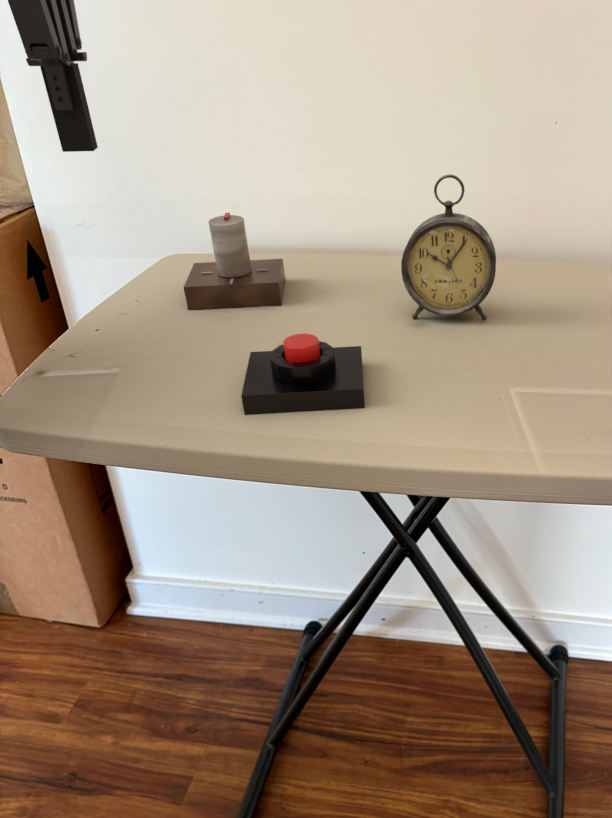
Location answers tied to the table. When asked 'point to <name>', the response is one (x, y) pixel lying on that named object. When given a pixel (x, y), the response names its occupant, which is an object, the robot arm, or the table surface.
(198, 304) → the panel
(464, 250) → the alarm clock
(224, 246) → the dimmer knob
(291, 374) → the switch block
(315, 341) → the light button
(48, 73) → the robot arm
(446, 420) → the table surface
